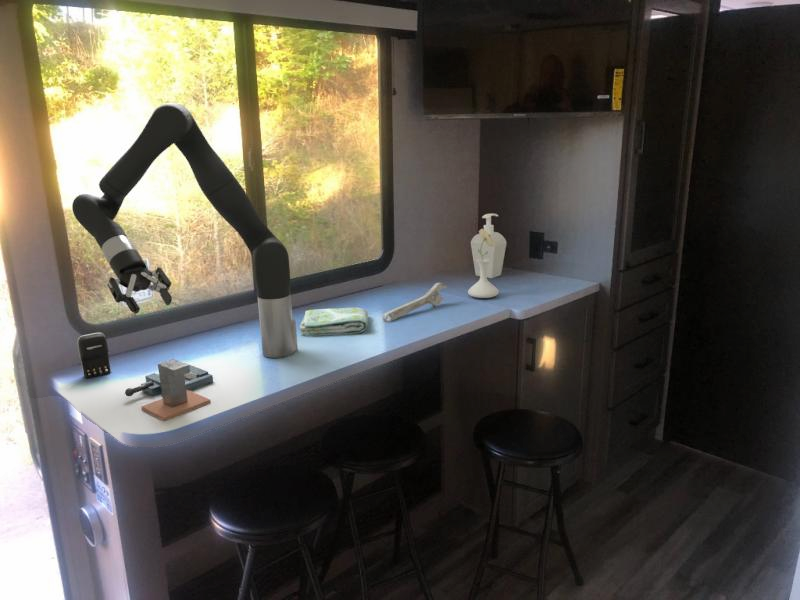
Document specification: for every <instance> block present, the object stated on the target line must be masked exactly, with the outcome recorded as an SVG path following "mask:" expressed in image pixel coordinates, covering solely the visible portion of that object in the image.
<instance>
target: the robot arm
mask: <svg viewBox="0 0 800 600" xmlns="http://www.w3.org/2000/svg"><path fill="white" fill-rule="evenodd" d="M173 144H174V145H175V146H176V148H177V149H178V151H180V152H181V154H182V155H183V157H184V158H185V159H186V161H187V163H188V165H189V166H190V169H191V170H192V173H193V177H194V178H195V180H196V182H197V185H198V186H199V188H200V190H201V192H202V194H203V195H204V196H205V197H206V198H207V200H208V201H209V203H210V204H211V205H212V206H213V208H214V209H215V211H217V213H218V214H219V215H220V216H221V218H223V220H224V221H226V223H227V224H228V225H230V226H231V227H232V228H233V229H234V230H235V232H237V233H238V235H239V237H240V238H241V240H243V242H244V244H245V245H246V247H247V249H248V251H249V253H250V255H251V257H252V258H253V262H254V270H255V280H256V281H255V282H256V297H257V307H258V317H259V318H258V319H259V327H260V328H259V329H260V338H261V351H262V355H263V357H265V358H271V359H279V358H285V357H289V356H292V355H293V354H294V353H295V352H296V351H298V350H299V349H298V348H299V347H298V335H297V323H296V318H294V317H293V308H292V296H291V271H290V270H291V269H290V259H289V258H290V257H289V253H288V250H287V248H286V247H285V245H284V244H283V242H282V241H280V239H279V238H277V236H275V234H274V233H273V232H272V231H271V230H270V229H269V227H268V226H267V225H266V224H265V223H264V221H263V220H262V219H261V217H260V216H259V214H258V212H257V211H256V209H255V207H254V205H253V203H252V201H251V199H250V198H249V196H248V194H247V193H246V190H245V189H244V187H243V186H242V185H241V184H240V182H239V181H238V179H237V178H236V177H235V175H234V174H233V172H232V171H231V170H230V169H229V168H228V166H227V164H225V162H224V161H223V160H222V159H221V157H220V156H219V155H218V154H217V152H216V151H215V149H213V148H212V146H211V145H210V143H209V142H208V140H207V139H206V137H205V136H204V134H203V132H202V130H201V128H200V126H199V125H198V123H197V122H196V119H195V118H194V116H193V115H192V113H191V111H190V110H189V109H188V108H187V107H186V106H185V105H183V104H182V103H178V102H174V101H172V102H171V101H170V102H167V103H162V104H160V105H158V106H157V107H156V108H155V109H154V110H153V112H152V114H151V116H150V117H149V118H148V121H147V123H146V124H145V126H144V127H143V129H142V131H141V133H140V134H139V136H138V137H137V138H136V139H135V141H134V142H133V143H132V145H131V146H130V147H129V148H128V149H127V150H126V151H125V152H124V153H123V155H121V157H120V158H119V159H118V160H117V161H116V162H115V164H113V165H112V167H110V169H109V170H108V171H107V172H106V173H105V174H104V176H103V177H102V178H101V179H100V181H99V183H98V186H99V189H100V191H101V192H102V193H103V195H102V196H101V197H99V196H95V195H93V194H88V193H83V194H79V195H77V196H76V197H75V198H74V199H73V202H72V207H71V208H72V213H73V215H74V218H75V219H76V220H77V221H78V223H79V224H80V225H81V226H82V227H83V229H85V230H86V231H87V232H88V234H90V236H92V237H93V238H94V239H95V241H96V243H97V245H98V246H99V248H100V249H101V251H102V253H103V255H104V258H105V260H106V262H107V263H108V264H109V267H110V268H111V270H112V271H113V273H114V275H115V277H116V278H114V277H109V279H108V282H107V287H108V289H109V291H110V293H111V295H112V297H113V299H114V301H115V302H116V303H122V302H123V303H124V304H125V305H127V308H129V310H130V311H131V313H134V314H135V315H136V314H139V312H140V306H139V304H138V303H137V300H136V299H135V298H134V297H133V296H132V295H133V294H132V293H133V292H135V293H137V292H140V291H146V290H149V291H152V292H154V291H155V292H157V293H158V294H159V296H160V297H161V299H162V301H163V302H164V304H165V305H166V306H170V305H171V303H172V301H173V297H172V296H171V294H170V292H169V290H170V287H171V286H172V282H171V280H170V278H168V276H167V275H166V273H165V272H164V270H163V269H162V267H159V266H158V267H156V269H155V270H150V269H148V267H147V264H146V262H145V261H144V258H142V256H141V255H140V253H139V251H138V250H137V248H136V246H135V245H134V243H133V242H132V241H131V240H130V239H129V237H128V235H127V234H126V232H125V231H124V229H123V228H122V226H121V225H120V224H119V223H118V222H116V221H115V220H114V219H115V218H116V217H117V215H118V213H119V211H120V209H121V207H122V205H123V202H124V200H125V198H126V197H127V195H129V193H130V192H131V191H132V190H133V189H134V188H135V187H136V185H137V184H138V183H139V182H140V181H141V179H142V178H143V177H144V176H145V174H146V173H147V171H148V170H149V168H150V166H151V165H152V164H153V163H154V161H156V159H157V158H158V157H159V156H160V155H161V154H162V153H164V152H165V151H166V150H167V149H168V148H170V147H171V146H172V145H173ZM119 286H122V287H123V288H126V290H125V293H123V292H122V290H121V288H120V287H119Z"/></svg>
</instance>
